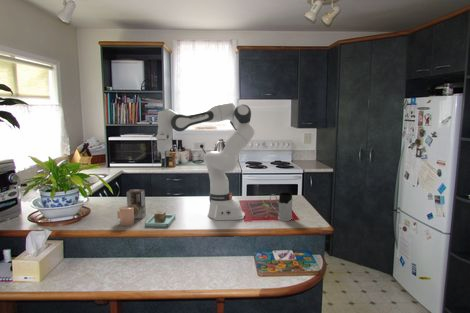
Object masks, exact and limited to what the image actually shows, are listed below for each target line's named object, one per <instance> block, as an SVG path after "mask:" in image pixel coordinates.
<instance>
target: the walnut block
mask: <svg viewBox="0 0 470 313" xmlns="http://www.w3.org/2000/svg"><path fill="white" fill-rule="evenodd" d="M166 212H167V211H165V210H163V211H162V210H161V211H160V210H157V211H156V212H154V213H153V215H154V220H155V222H157V223H163V222H164V221H165V220H166V214H167V213H166Z"/></svg>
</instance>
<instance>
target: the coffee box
mask: <svg viewBox="0 0 470 313" xmlns="http://www.w3.org/2000/svg"><path fill="white" fill-rule="evenodd" d="M126 206H132V207H134V219H144V218H145V217H146V215H147V213H146V210H147V208H146V191H145V189H135V188H134V189H133V188H132V189H129V190H128V191H126Z"/></svg>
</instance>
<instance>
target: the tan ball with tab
mask: <svg viewBox="0 0 470 313" xmlns="http://www.w3.org/2000/svg"><path fill="white" fill-rule="evenodd" d="M116 215H117V219H119V224H120V226H122V227H128V226H133V225H134V224H135V218H134V207H132V206H127V205H125V206H122V207H120V208H119V210H118V211H117V212H116Z"/></svg>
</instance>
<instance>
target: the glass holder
mask: <svg viewBox="0 0 470 313" xmlns="http://www.w3.org/2000/svg"><path fill="white" fill-rule="evenodd" d="M278 195H279V196H278V198H277V195H276V194H270V196H269V203H270V206H271V207H272V208H273V210H275V212H276V213H277V214H278V216H277V219H278V220H279V221H282V222H290V221H289V220H291V219H292V220H293V193H291V192H280V193H279V194H278ZM272 196H274V197H275V200H276V203H278V210H277V209H276V208H275V207H274V206H273V203H272V201H271V200H272V199H271V197H272ZM292 220H291V221H292Z"/></svg>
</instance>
